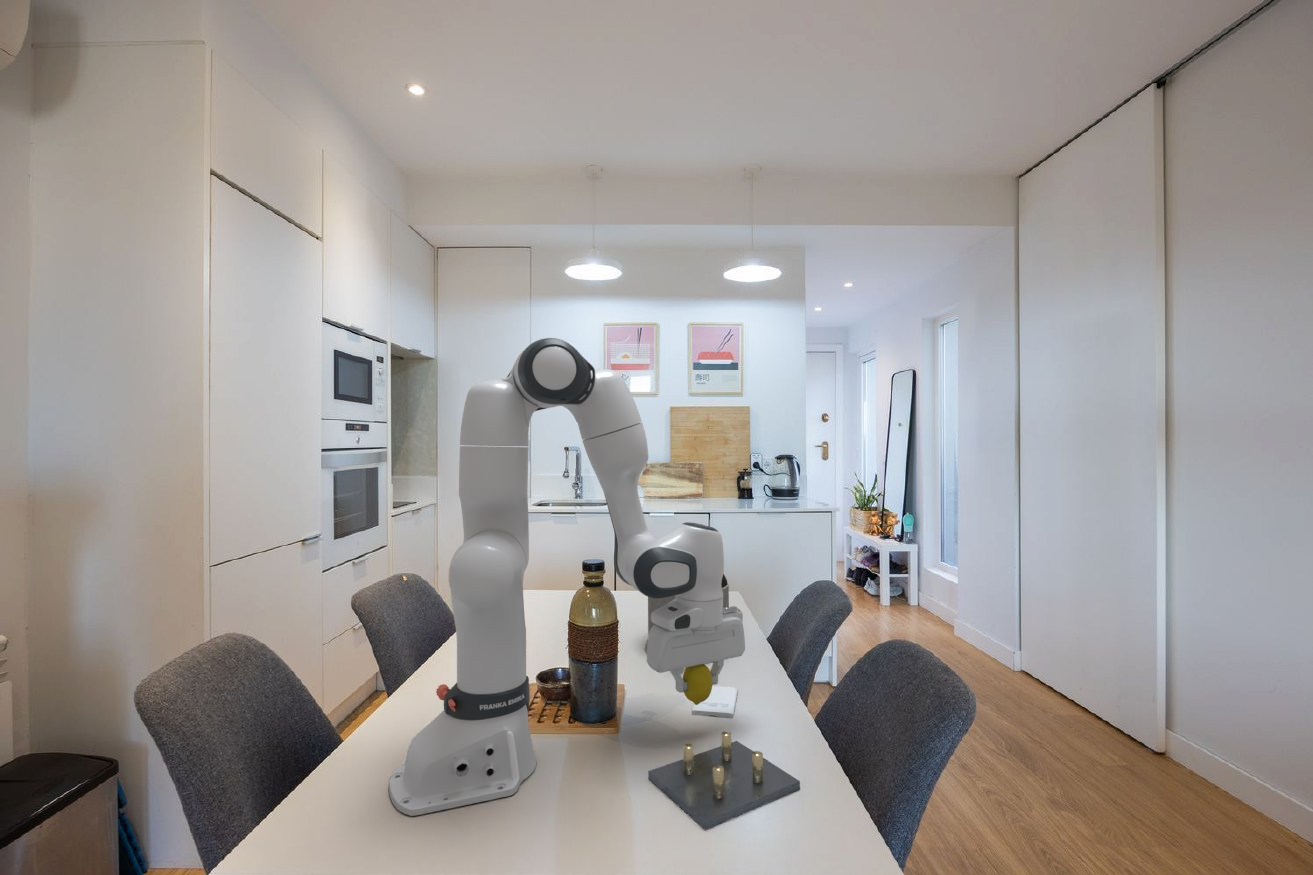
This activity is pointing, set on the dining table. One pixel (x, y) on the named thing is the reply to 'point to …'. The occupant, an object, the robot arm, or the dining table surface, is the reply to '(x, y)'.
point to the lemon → (698, 683)
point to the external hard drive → (718, 703)
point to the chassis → (722, 782)
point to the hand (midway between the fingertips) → (697, 687)
